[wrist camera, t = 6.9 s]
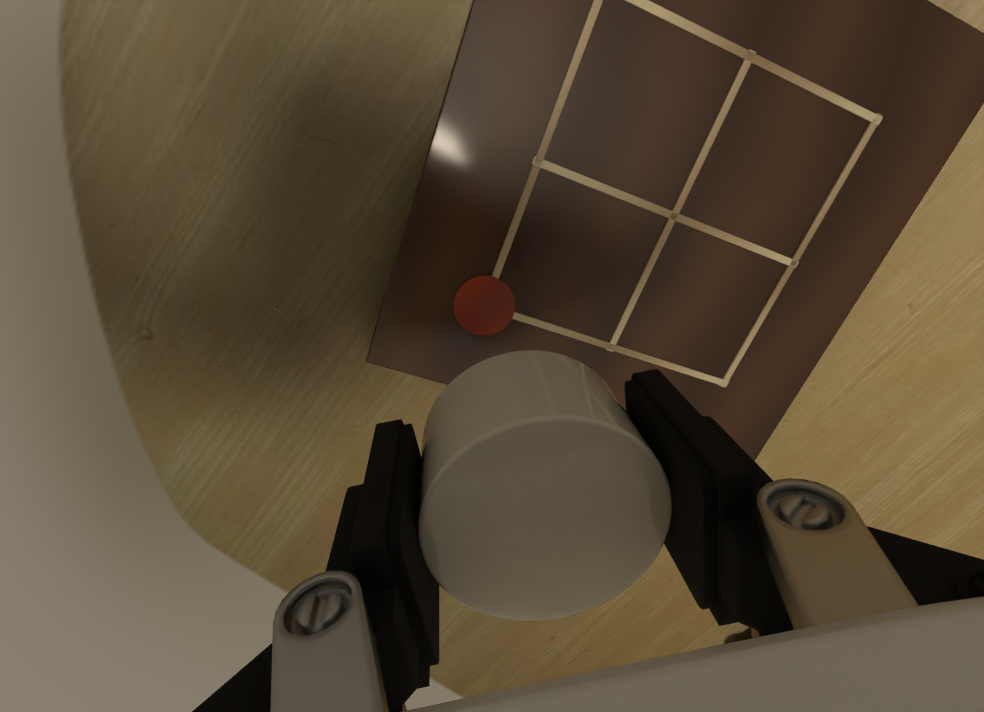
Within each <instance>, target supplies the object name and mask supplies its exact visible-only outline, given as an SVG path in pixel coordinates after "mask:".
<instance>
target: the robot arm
mask: <svg viewBox="0 0 984 712" xmlns="http://www.w3.org/2000/svg"><path fill="white" fill-rule="evenodd" d="M624 389H625V403H626V412H627V414H628V415H629V417H630V418H631V419H632V421H633V422H634V424H635V425H636V427H637V428H638V430H639V431H640V433H641V434H642V436H643V437H644V439H645V440H646V442H647V443H648V445H649V446H650V448H651V449H652V451H653V452H654V454H655V455H656V457H657V458H658V460H659V461H660V462H661V464H662V466H663V468H664V470H665V472H666V474H667V477H668V481H669V484H670V489H671V497H672V518H671V522H670V527H669V531H668V534H667V537H666V539H665V542H664V544H665V546H666V548H667V550H668V551H669V553H670V555H671V557H672V559H673V560H674V562H675V564H676V566H677V568H678V570H679V571H680V573H681V575H682V577H683V579H684V580H685V582H686V584H687V586H688V588H689V590H690V591H691V593H692V595H693V597H694V599H695V601H696V602H697V604H698V606H699V607H700V608H701V609H707V608H709V609H710V611H711V612H712V614H713V616H714V618H715V619H716V621H717V623H718V625H719V626H721V625H726V624H731V623H736V622H740V623H742V624H744V625H746V626H749V627H751V635H752V639H747V640H742V641H737V642H732V643H727V644H722V645H717V646H712V647H707V648H702V649H697V650H693V651H688V652H683V653H678V654H673V655H668V656H664V657H659V658H654V659H649V660H644V661H639V662H635V663H630V664H625V665H620V666H615V667H610V668H606V669H601V670H596V671H591V672H587V673H582V674H577V675H572V676H567V677H563V678H558V679H553V680H548V681H544V682H539V683H534V684H529V685H524V686H520V687H515V688H510V689H506V690H501V691H496V692H492V693H487V694H482V695H478V696H473V697H468V698H464V699H459V700H454V701H450V702H445V703H441V704H436V705H431V706H427V707H422V708H417V709H412V710H408V711H407V710H406V706H405V702H406V700H407V699H408V698H409V697H410V696H411V695H412V693H413V692H414V691H415V690H416V689H417V688H423V687H427V686H429V677H430V666H432V665H437V664H438V663H439V583H438V582H437V581H436V580H435V579H434V577H433V576H432V574H431V572H430V571H429V569H428V567H427V566H426V563H425V560H424V557H423V554H422V550H421V547H420V543H419V538H418V509H419V491H420V474H421V455H420V451H419V448H418V444H417V440H416V437H415V433H414V429H413V426H412V424H406V425H404V424H403V422H402V420H401V419H400V420H395V421H390V422H385V423H379V424H377V425H376V428H375V433H374V437H373V442H372V446H371V451H370V456H369V460H368V465H367V469H366V474H365V479H364V483H363V484H362V485H357V486H352V487H349V488H348V490H347V492H346V495H345V499H344V503H343V507H342V511H341V514H340V518H339V522H338V526H337V530H336V534H335V538H334V541H333V545H332V549H331V553H330V557H329V561H328V564H327V568H326V572H323V573H319V574H316V575H314V576H312V577H310V578H308V579H306V580H304V581H302V582H301V583H300V584H298V585H297V586H296V587H295V588H293V589H292V590H291V591H290V592H289V593H288V594H287V595H286V596H285V598H284V599H283V600H282V602H281V603H280V605H279V607H278V609H277V610H276V612H275V617H274V621H273V642H272V644H270V645H269V646H268V647H267V648H266V649H265V650H264V651H262V652H261V653H260V654H259V655H258V656H256V657H255V658H254V659H253V660H252V661H251V662H249V663H248V664H247V665H246V666H245V667H244V668H242V669H241V670H240V671H239V672H238V673H237V674H236V675H234V676H233V677H232V678H231V679H230V680H229V681H227V682H226V683H225V684H224V685H223V686H222V687H220V689H218V690H217V691H216V692H215V693H213V694H212V695H211V696H210V697H209V698H208V699H207V700H205V701H204V702H203V703H202V704H201V705H199V706H198V707H197V708H196V709H195V710H194V711H192V712H984V560H982V559H979V558H975V557H972V556H969V555H965V554H962V553H958V552H955V551H951V550H948V549H944V548H941V547H937V546H934V545H930V544H927V543H923V542H920V541H916V540H913V539H909V538H906V537H903V536H899V535H896V534H892V533H889V532H885V531H882V530H878V529H875V528H871V527H868V526H866V525H865V523H864V522H863V520H862V519H861V517H860V516H859V514H858V513H857V511H856V510H855V508H854V507H853V505H852V504H851V503H850V502H849V501H848V500H847V499H846V497H845V496H843V495H842V494H840V493H839V492H837V491H836V490H834V489H833V488H830V487H828V486H825V485H823V484H821V483H818V482H813V481H809V480H805V479H790V478H789V479H781V480H776V481H773V480H772V479H771V478H770V477H769V476H768V475H767V474H766V473H765V472H764V471H763V470H762V469H761V468H760V467H759V466H758V465H757V463H756V462H755V461H754V460H753V459H752V458H751V457H750V456H749V455H748V454H747V453H746V452H745V451H744V450H743V449H742V448H741V447H740V446H739V445H738V444H737V443H736V442H735V441H734V440H733V439H732V438H731V437H730V435H729V434H728V433H727V432H726V431H725V430H724V429H723V428H722V427H721V426H720V425H719V424H718V423H717V422H716V421H715V420H714V419H713V418H711V417H710V416H702V415H701V414H700V413H699V412H698V411H697V410H696V409H695V408H694V407H693V406H692V405H691V404H690V402H689V401H688V400H687V399H686V398H685V397H684V396H683V395H682V394H681V393H680V392H679V391H678V390H677V389H676V387H675V386H674V385H673V384H672V383H671V382H670V381H669V380H668V379H667V378H666V377H665V376H664V375H663V374H662V372H661V371H660V370H658V369H653V370H647V371H642V372H637V373H633V374H632V377H631V380H629V381H625V384H624Z"/></svg>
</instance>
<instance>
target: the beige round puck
mask: <svg viewBox="0 0 984 712" xmlns="http://www.w3.org/2000/svg"><path fill="white" fill-rule="evenodd" d="M671 518H672V497H671V489H670V484H669V481H668V477H667V474H666V472H665V470H664V468H663V466H662V464H661V462H660V461H659V460H658V458H657V457H656V455H655V454H654V452H653V451H652V449H651V448H650V446H649V445H648V443H647V442H646V440H645V439H644V437H643V436H642V434H641V433H640V431H639V430H638V428H637V427H636V425H635V424H634V422H633V421H632V419H631V418H630V417H629V415H628V414H627V412H626V411H625V409H624V408H623V406H622V405H621V403H620V402H619V400H618V399H617V397H616V396H615V394H614V393H613V391H612V390H611V389H610V387H609V386H608V384H607V383H606V382H605V381H604V380H603V379H602V378H601V377H600V376H599V375H598V374H597V373H596V372H595V371H593V370H592V369H591V368H589V367H588V366H586V365H585V364H583V363H581V362H579V361H577V360H575V359H573V358H570V357H567V356H565V355H561V354H557V353H553V352H547V351H538V350H530V351H516V352H508V353H504V354H501V355H497V356H493V357H491V358H488V359H486V360H483V361H481V362H479V363H477V364H475V365H474V366H472V367H470V368H468V369H467V370H465V371H464V372H463V373H461V374H460V375H458V376H457V377H456V378H455V379H454V380H453V381H452V382H451V383H449V384H448V385H447V386H446V388H445V389H444V390H443V391H442V392H441V394H440V395H439V396H438V398H437V399H436V401H435V403H434V404H433V406H432V408H431V410H430V412H429V414H428V417H427V420H426V423H425V427H424V432H423V440H422V456H421V474H420V491H419V509H418V538H419V543H420V547H421V550H422V554H423V557H424V560H425V563H426V566H427V567H428V569H429V571H430V572H431V574H432V576H433V577H434V579H435V580H436V581H437V582H438V583H439V585H440V586H441V587H442V588H443V589H444V590H445V591H446V592H448V593H449V594H450V595H451V596H452V597H454V598H455V599H456V600H458V601H459V602H461V603H462V604H464V605H466V606H468V607H470V608H472V609H474V610H476V611H479V612H482V613H485V614H487V615H491V616H495V617H499V618H503V619H511V620H521V621H538V620H550V619H556V618H563V617H567V616H570V615H574V614H578V613H581V612H584V611H586V610H589V609H592V608H594V607H596V606H598V605H601V604H603V603H605V602H607V601H608V600H610V599H612V598H613V597H615V596H617V595H618V594H620V593H621V592H623V591H624V590H625V589H627V588H628V587H629V586H631V585H632V584H633V583H634V582H635V581H636V580H637V579H638V578H640V577H641V576H642V574H643V573H644V572H645V571H646V570H647V569H648V568H649V567H650V565H651V564H652V562H653V561H654V560H655V558H656V557H657V555H658V554H659V552H660V550H661V548H662V546H663V544H664V542H665V539H666V537H667V534H668V531H669V527H670V522H671Z"/></svg>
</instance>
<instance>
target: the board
mask: <svg viewBox="0 0 984 712" xmlns="http://www.w3.org/2000/svg"><path fill="white" fill-rule="evenodd" d="M983 103H984V33H983V32H981V31H979V30H977V29H976V28H974V27H972V26H971V25H969V24H967V23H965V22H964V21H962V20H960V19H959V18H957V17H955V16H953V15H952V14H950V13H948V12H946V11H945V10H943V9H941V8H940V7H938V6H936V5H934V4H933V3H931V2H929V1H927V0H473V3H472V6H471V9H470V13H469V16H468V19H467V23H466V26H465V29H464V33H463V36H462V40H461V43H460V46H459V50H458V53H457V56H456V60H455V63H454V66H453V70H452V73H451V76H450V80H449V83H448V87H447V90H446V93H445V97H444V100H443V103H442V107H441V110H440V113H439V117H438V120H437V123H436V127H435V130H434V134H433V137H432V140H431V144H430V147H429V150H428V154H427V157H426V160H425V164H424V167H423V170H422V174H421V177H420V181H419V184H418V187H417V191H416V194H415V197H414V201H413V204H412V207H411V211H410V214H409V217H408V221H407V224H406V228H405V231H404V234H403V238H402V241H401V244H400V248H399V251H398V254H397V258H396V261H395V264H394V268H393V271H392V275H391V278H390V281H389V285H388V288H387V291H386V295H385V298H384V301H383V305H382V308H381V311H380V315H379V318H378V322H377V325H376V328H375V332H374V335H373V338H372V342H371V345H370V348H369V352H368V355H367V358H366V362H369V363H372V364H376V365H380V366H383V367H387V368H390V369H394V370H397V371H401V372H404V373H408V374H412V375H415V376H419V377H422V378H426V379H429V380H433V381H437V382H440V383H444V384H447V385H448V384H449V383H451V382H452V381H453V380H454V379H455V378H456V377H457V376H458V375H460V374H461V373H463V372H464V371H465V370H467V369H468V368H470V367H472V366H474V365H475V364H477V363H479V362H481V361H483V360H486V359H488V358H491V357H493V356H497V355H501V354H504V353H508V352H516V351H530V350H538V351H547V352H553V353H557V354H561V355H565V356H567V357H570V358H573V359H575V360H577V361H579V362H581V363H583V364H585V365H586V366H588V367H589V368H591V369H592V370H593V371H595V372H596V373H597V374H598V375H599V376H600V377H601V378H602V379H603V380H604V381H605V382H606V383H607V384H608V386H609V387H610V389H611V390H612V391H613V393H614V394H615V396H616V397H617V399H618V400H619V402H620V403H621V405H622V406H623V408H624V409H625V411H626V403H625V389H624V384H625V381H629V380H631V377H632V374H633V373H637V372H642V371H647V370H653V369H658V370H660V371H661V372H662V374H663V375H664V376H665V377H666V378H667V379H668V380H669V381H670V382H671V383H672V384H673V385H674V386H675V387H676V389H677V390H678V391H679V392H680V393H681V394H682V395H683V396H684V397H685V398H686V399H687V400H688V401H689V402H690V404H691V405H692V406H693V407H694V408H695V409H696V410H697V411H698V412H699V413H700V414H701V415H702V416H710V417H711V418H713V419H714V420H715V421H716V422H717V423H718V424H719V425H720V426H721V427H722V428H723V429H724V430H725V431H726V432H727V433H728V434H729V435H730V437H731V438H732V439H733V440H734V441H735V442H736V443H737V444H738V445H739V446H740V447H741V448H742V449H743V450H744V451H745V452H746V453H747V454H748V455H749V456H750V457H751V458H752V459H753V460H754V461H755V459H756V458H757V456H758V455H759V453H760V452H761V450H762V448H763V447H764V445H765V444H766V442H767V441H768V439H769V437H770V436H771V434H772V433H773V431H774V430H775V428H776V427H777V425H778V423H779V422H780V420H781V419H782V417H783V416H784V414H785V412H786V411H787V409H788V408H789V406H790V405H791V403H792V402H793V400H794V398H795V397H796V395H797V394H798V392H799V391H800V389H801V387H802V386H803V384H804V383H805V381H806V380H807V378H808V377H809V375H810V373H811V372H812V370H813V369H814V367H815V366H816V364H817V363H818V361H819V359H820V358H821V356H822V355H823V353H824V352H825V350H826V348H827V347H828V345H829V344H830V342H831V341H832V339H833V338H834V336H835V334H836V333H837V331H838V330H839V328H840V327H841V325H842V323H843V322H844V320H845V319H846V317H847V316H848V314H849V313H850V311H851V309H852V308H853V306H854V305H855V303H856V302H857V300H858V298H859V297H860V295H861V294H862V292H863V291H864V289H865V288H866V286H867V284H868V283H869V281H870V280H871V278H872V277H873V275H874V274H875V272H876V270H877V269H878V267H879V266H880V264H881V263H882V261H883V259H884V258H885V256H886V255H887V253H888V252H889V250H890V249H891V247H892V245H893V244H894V242H895V241H896V239H897V238H898V236H899V234H900V233H901V231H902V230H903V228H904V227H905V225H906V224H907V222H908V220H909V219H910V217H911V216H912V214H913V213H914V211H915V209H916V208H917V206H918V205H919V203H920V202H921V200H922V199H923V197H924V195H925V194H926V192H927V191H928V189H929V188H930V186H931V185H932V183H933V181H934V180H935V178H936V177H937V175H938V174H939V172H940V170H941V169H942V167H943V166H944V164H945V163H946V161H947V160H948V158H949V156H950V155H951V153H952V152H953V150H954V149H955V147H956V145H957V144H958V142H959V141H960V139H961V138H962V136H963V135H964V133H965V131H966V130H967V128H968V127H969V125H970V124H971V122H972V120H973V119H974V117H975V116H976V114H977V113H978V111H979V110H980V108H981V106H982V105H983Z"/></svg>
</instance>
